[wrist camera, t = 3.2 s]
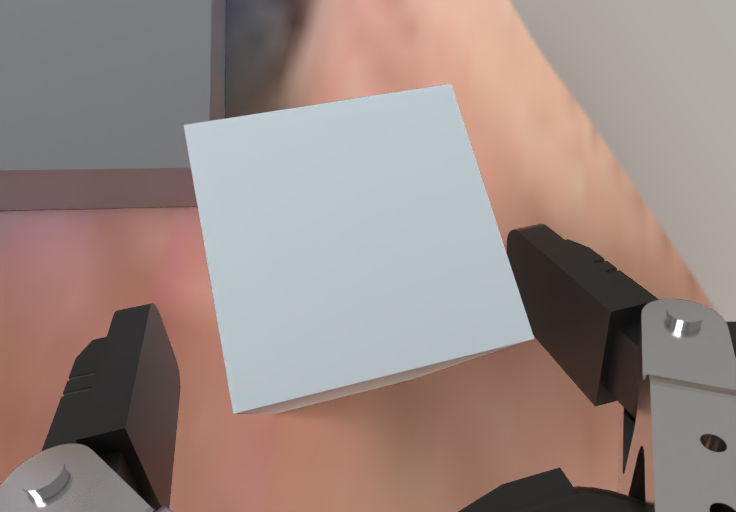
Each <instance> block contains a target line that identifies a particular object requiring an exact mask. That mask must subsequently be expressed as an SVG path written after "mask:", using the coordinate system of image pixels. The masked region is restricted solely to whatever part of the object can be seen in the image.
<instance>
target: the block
mask: <svg viewBox="0 0 736 512" xmlns="http://www.w3.org/2000/svg"><path fill="white" fill-rule="evenodd" d="M184 130H185V136H186V142H187V148H188V154H189V160H190V165H191V171H192V177H193V183H194V189H195V194H196V200H197V206H198V212H199V218H200V224H201V229H202V235H203V241H204V247H205V253H206V259H207V264H208V270H209V276H210V282H211V288H212V293H213V299H214V305H215V311H216V317H217V323H218V328H219V334H220V340H221V346H222V352H223V358H224V363H225V369H226V375H227V381H228V387H229V392H230V398H231V404H232V410H233V414H278V413H281V412H285V411H289V410H293V409H297V408H301V407H305V406H309V405H313V404H317V403H321V402H325V401H329V400H333V399H337V398H341V397H345V396H349V395H353V394H357V393H361V392H365V391H369V390H373V389H377V388H381V387H385V386H388V385H392V384H396V383H400V382H404V381H408V380H412V379H415V378H418V377H421V376H424V375H427V374H430V373H433V372H436V371H439V370H442V369H445V368H448V367H451V366H454V365H457V364H460V363H463V362H466V361H469V360H472V359H475V358H478V357H481V356H484V355H487V354H490V353H493V352H496V351H499V350H502V349H505V348H508V347H511V346H514V345H517V344H520V343H523V342H526V341H529V340H532V339H534V336H533V333H532V330H531V327H530V324H529V321H528V318H527V314H526V311H525V308H524V305H523V302H522V299H521V296H520V293H519V290H518V287H517V284H516V281H515V278H514V275H513V272H512V269H511V265H510V262H509V259H508V256H507V253H506V250H505V247H504V244H503V241H502V238H501V235H500V232H499V229H498V226H497V223H496V220H495V216H494V213H493V210H492V207H491V204H490V201H489V198H488V195H487V192H486V189H485V186H484V183H483V180H482V177H481V174H480V171H479V167H478V164H477V161H476V158H475V155H474V152H473V149H472V146H471V143H470V140H469V137H468V134H467V131H466V128H465V125H464V122H463V118H462V115H461V112H460V109H459V106H458V103H457V100H456V97H455V94H454V91H453V88H452V85H451V84H445V85H439V86H432V87H426V88H419V89H413V90H406V91H400V92H393V93H387V94H380V95H374V96H368V97H361V98H355V99H348V100H342V101H335V102H329V103H322V104H316V105H309V106H303V107H297V108H290V109H284V110H277V111H271V112H264V113H258V114H251V115H245V116H238V117H232V118H226V119H219V120H213V121H206V122H200V123H193V124H187V125H184Z"/></svg>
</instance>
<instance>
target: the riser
mask: <svg viewBox="0 0 736 512" xmlns="http://www.w3.org/2000/svg"><path fill="white" fill-rule="evenodd" d="M225 37H226V0H0V211H9V210H54V209H100V208H145V207H191V206H197V200H196V194H195V189H194V183H193V177H192V171H191V165H190V160H189V154H188V148H187V142H186V136H185V130H184V125H187V124H193V123H200V122H206V121H213V120H219V119H225Z"/></svg>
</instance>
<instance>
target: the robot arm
mask: <svg viewBox="0 0 736 512" xmlns="http://www.w3.org/2000/svg"><path fill="white" fill-rule="evenodd" d="M507 256H508V259H509V262H510V265H511V269H512V272H513V275H514V278H515V281H516V284H517V287H518V290H519V293H520V296H521V299H522V302H523V305H524V308H525V311H526V314H527V318H528V321H529V324H530V327H531V330H532V333H533V335H534V336H535V338H536V339H537V340H538V341H539V342H540V343H541V344H542V346H543V347H544V348H545V349H546V350H547V351H548V353H549V354H550V355H551V356H552V357H553V358H554V359H555V361H556V362H557V363H558V364H559V365H560V366H561V367H562V369H563V370H564V371H565V372H566V373H567V374H568V376H569V377H570V378H571V379H572V380H573V381H574V382H575V384H576V385H577V386H578V387H579V388H580V389H581V391H582V392H583V393H584V394H585V395H586V396H587V397H588V399H589V400H590V401H591V402H592V403H593V404H594V406H599V405H602V404H606V403H610V402H613V401H617V400H618V401H619V402H620V403H621V405H622V406H623V407H622V412H621V418H620V451H619V489H618V493H617V492H613V491H610V490H604V489H599V488H591V487H573V486H572V484H571V483H570V482H569V480H568V479H567V477H566V476H565V474H564V473H563V471H562V470H561V468H557V469H553V470H550V471H546V472H543V473H540V474H536V475H533V476H529V477H526V478H523V479H519V480H516V481H512V482H509V483H506V484H502V485H501V486H499V487H498V488H496V489H494V490H493V491H491V492H489V493H488V494H486V495H485V496H483V497H481V498H480V499H478V500H476V501H475V502H473V503H472V504H470V505H468V506H467V507H465V508H463V509H462V510H460V511H459V512H736V322H726V321H725V320H724V319H723V318H722V317H721V316H720V315H719V314H718V313H716V312H715V311H713V310H712V309H710V308H708V307H706V306H703V305H701V304H698V303H695V302H691V301H687V300H681V299H660V300H659V299H657V298H656V297H655V296H653V295H652V294H651V293H649V292H648V291H647V290H645V289H644V288H643V287H641V286H640V285H639V284H637V283H636V282H635V281H633V280H632V279H631V278H629V277H628V276H627V275H625V274H624V273H623V272H621V271H617V268H616V267H614V266H613V265H612V264H610V263H609V262H608V261H604V258H602V257H601V256H600V255H598V254H597V253H596V252H594V251H593V250H592V249H590V248H589V247H586V246H584V245H581V244H578V243H576V242H573V241H571V240H568V239H567V240H564V239H563V238H562V237H560V236H559V235H558V234H556V233H555V232H554V231H552V230H551V229H550V228H549V227H547V226H546V225H544V224H538V225H534V226H529V227H524V228H519V229H514V230H511V231H510V232H509V234H508V238H507ZM63 394H64V397H61V400H60V403H59V405H58V408H57V411H56V414H55V416H54V419H53V422H52V424H51V427H50V430H49V432H48V435H47V438H46V441H45V443H44V446H43V449H42V451H41V452H40V453H38V454H36V455H34V456H33V457H31V458H29V459H28V460H26V461H25V462H23V463H22V464H21V465H20V466H18V467H17V468H16V469H15V470H14V471H13V472H12V473H11V474H10V475H9V476H8V477H7V478H6V479H5V481H4V482H3V483H2V485H1V486H0V512H172V511H171V510H170V509H169V505H170V494H171V483H172V473H173V462H174V451H175V440H176V430H177V419H178V408H179V397H180V376H179V370H178V365H177V361H176V358H175V355H174V353H173V350H172V347H171V344H170V341H169V339H168V336H167V333H166V330H165V327H164V324H163V322H162V319H161V316H160V313H159V311H158V309H157V307H156V305H155V304H153V303H152V304H147V305H142V306H137V307H132V308H128V309H123V310H118V311H116V312H115V313H114V316H113V319H112V322H111V325H110V329H109V332H108V335H107V337H105V338H100V339H95V340H92V341H91V343H90V344H89V345H88V346H87V347H86V348H85V349H84V350H83V351H82V352H81V353H80V355H79V356H78V357H77V358H76V360H75V362H74V365H73V368H72V370H71V373H70V376H69V381H67V384H66V387H65V389H64V392H63Z"/></svg>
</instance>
